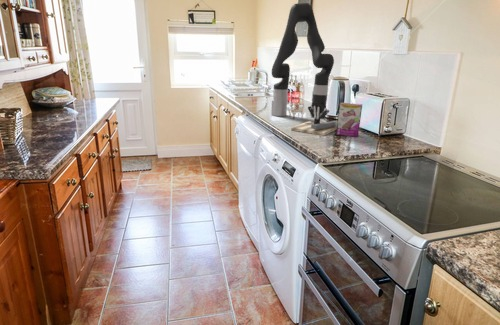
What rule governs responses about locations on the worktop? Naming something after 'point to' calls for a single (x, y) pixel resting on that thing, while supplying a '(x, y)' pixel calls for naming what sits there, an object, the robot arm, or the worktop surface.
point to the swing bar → (324, 125)
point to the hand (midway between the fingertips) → (316, 125)
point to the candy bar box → (349, 119)
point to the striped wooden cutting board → (307, 128)
